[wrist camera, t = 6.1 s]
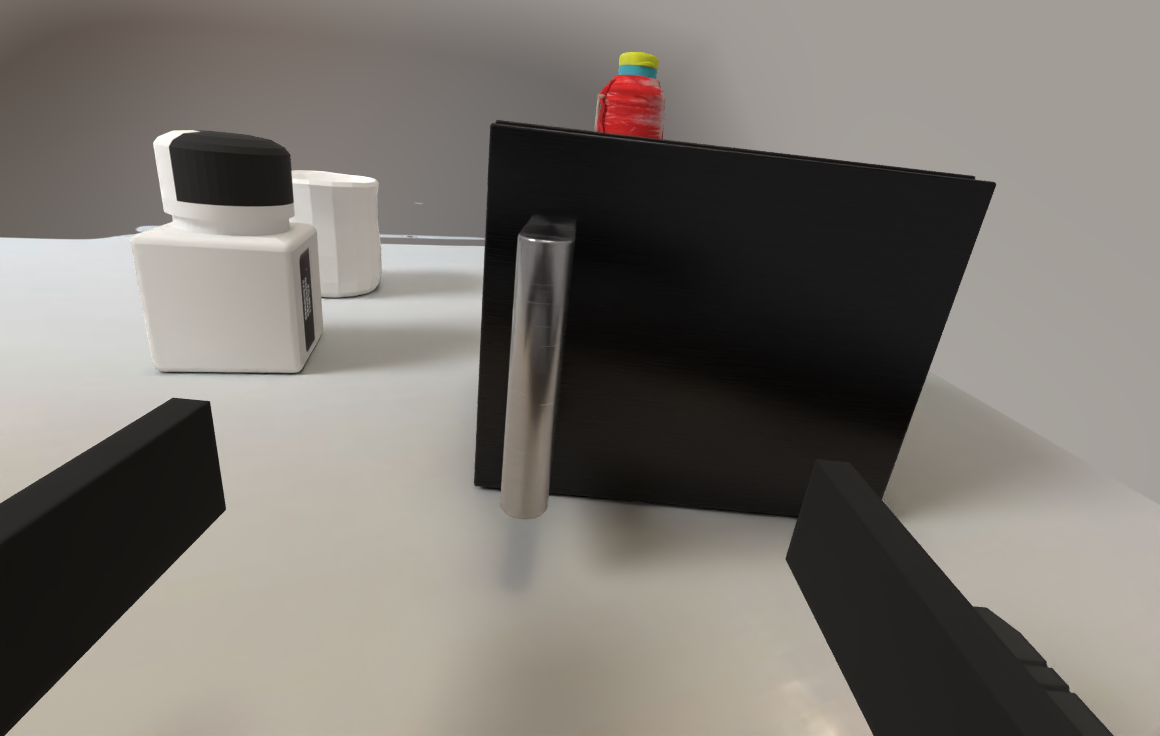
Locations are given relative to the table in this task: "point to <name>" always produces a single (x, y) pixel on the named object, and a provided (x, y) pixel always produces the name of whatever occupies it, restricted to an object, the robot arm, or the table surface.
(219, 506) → the robot arm
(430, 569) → the table surface
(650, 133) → the water bottle
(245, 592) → the table surface
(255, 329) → the container
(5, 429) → the table surface
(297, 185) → the cup
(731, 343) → the door
